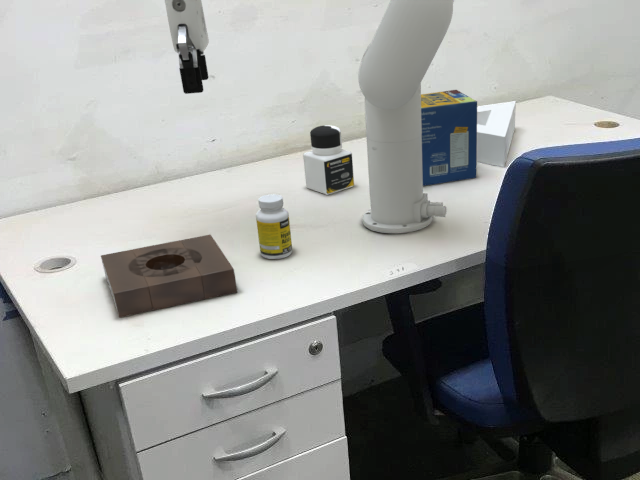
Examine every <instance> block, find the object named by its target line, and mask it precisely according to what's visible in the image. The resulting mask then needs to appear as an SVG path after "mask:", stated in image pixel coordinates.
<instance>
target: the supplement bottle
mask: <svg viewBox="0 0 640 480" xmlns="http://www.w3.org/2000/svg"><path fill="white" fill-rule="evenodd" d="M257 201H258V208H259V210H257V212H256V214H255V218H256V219H255V220H256V228H257V236H258V244H259V245H258V246H259V251H260V252H259V253H260V255H261V257H263V258H265V259H268V260H280V259H284V258H287V257H289V256H290V255H292V253H293V244H292V243H293V242H292V235H291V233H292V232H291V224H290V223H291V222H290V214H289V211H288V210H287V209H286V208H285V207H284V197H283V195H281V194H277V193H276V194H275V193H272V194H271V193H270V194H269V193H268V194H264V195H261V196H260V197H258V200H257Z"/></svg>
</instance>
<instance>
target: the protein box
mask: <svg viewBox="0 0 640 480" xmlns="http://www.w3.org/2000/svg"><path fill="white" fill-rule="evenodd" d="M477 106H478V101H477V100H475V99H474V98H472V97H470V96H468V95H467V94H466V93H465V94H464V93H463V92H461V91H459V89H451V90H445V91H437V92H429V93H421V124H422V172H423V187H425V186H432V185H440V184H444V183H452V182H458V181H465V180H471V179H476V178H477V165H478V164H477V163H478V162H477Z"/></svg>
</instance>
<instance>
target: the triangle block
mask: <svg viewBox="0 0 640 480" xmlns="http://www.w3.org/2000/svg"><path fill="white" fill-rule="evenodd" d="M516 103H517V101H516V100H512V101H504V102H498V103H491V104H490V103H489V104H484V105H477V163H482V164H486V165H491V166H495V167H501V168H505V166H506V162H507V159H508V155H509V151H510V148H511V144H512V140H513V136H514V134H515V130H516V109H517V105H516Z"/></svg>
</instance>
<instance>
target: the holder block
mask: <svg viewBox="0 0 640 480" xmlns="http://www.w3.org/2000/svg"><path fill="white" fill-rule="evenodd" d="M100 259H101V263H102V268H103V272H104V275H105V279H106V282H107V285H108V288H109V292H110V294H111V297H112V300H113V303H114V307H115V309H116V313H117V315H118V318H125V317H129V316H133V315H134V316H135V315H139V314H143V313H147V312H152V311H157V310H161V309H166V308H170V307H171V308H172V307H176V306H180V305H185V304H190V303H194V302H199V301H203V300H209V299H213V298H217V297H222V296H227V295H232V294H236V293H238V287H237V280H236V274H235V269H234V267H233V265H232V264H231V263H230V261H229V259H228V258H227V257H226V255H225V254H224V252H223V251H222V249H221V248H220V246H219V245H218V243H217V242H216V240H215V239H214V237H213V236H212V234H206V235H201V236H195V237H191V238H185V239H179V240H175V241H168V242H163V243H159V244H158V243H157V244H153V245H148V246H143V247H138V248H133V249H127V250H122V251H117V252H112V253H106V254H100Z"/></svg>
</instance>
